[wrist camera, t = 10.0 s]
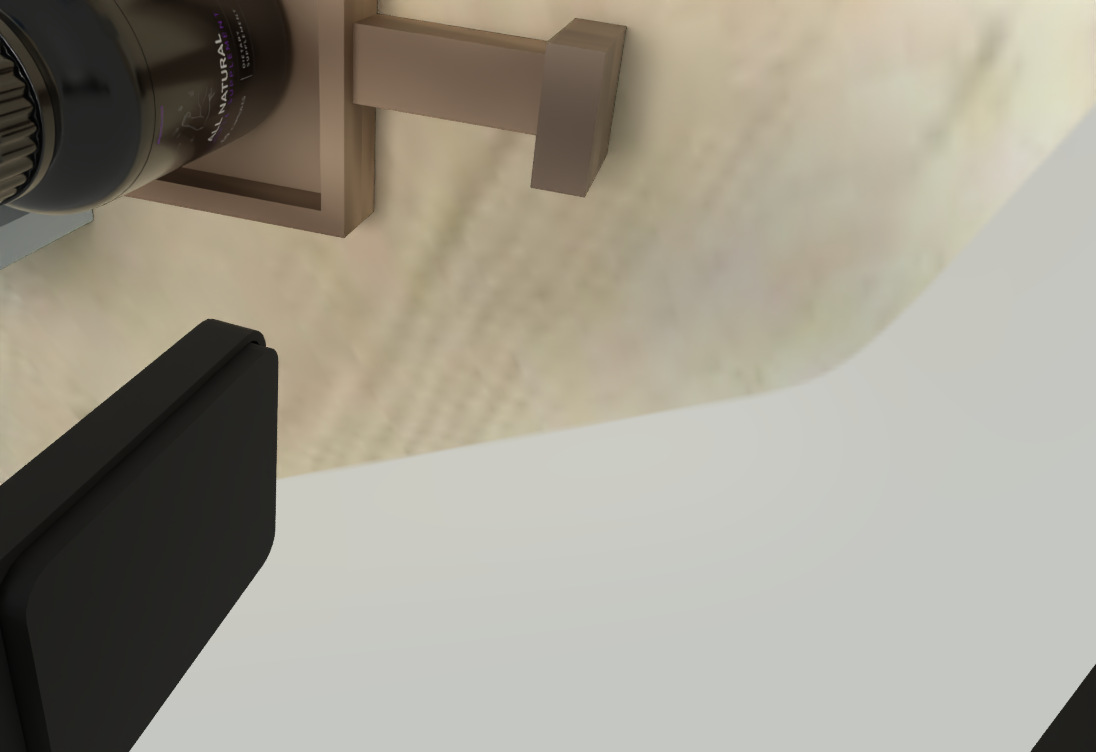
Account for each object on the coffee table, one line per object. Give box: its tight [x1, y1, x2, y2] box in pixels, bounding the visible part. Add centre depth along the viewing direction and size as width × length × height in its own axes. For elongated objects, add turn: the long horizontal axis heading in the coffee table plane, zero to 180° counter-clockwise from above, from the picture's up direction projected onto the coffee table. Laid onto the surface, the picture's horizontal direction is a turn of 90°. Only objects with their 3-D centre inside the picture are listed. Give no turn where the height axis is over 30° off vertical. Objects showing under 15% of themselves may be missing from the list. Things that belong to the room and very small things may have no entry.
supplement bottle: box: [0, 0, 288, 215], centre depth 24 cm, size 7×7×12 cm
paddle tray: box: [123, 0, 627, 238], centre depth 27 cm, size 11×19×4 cm, turn 83°
